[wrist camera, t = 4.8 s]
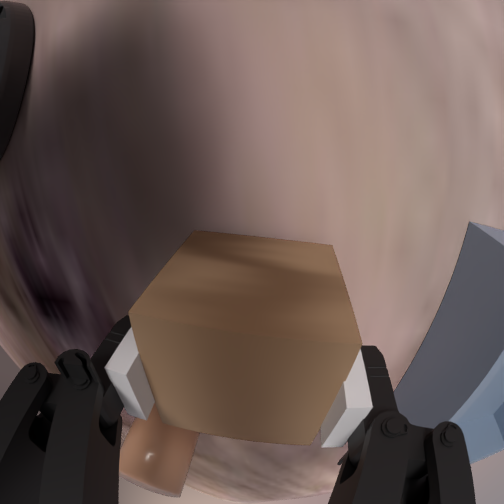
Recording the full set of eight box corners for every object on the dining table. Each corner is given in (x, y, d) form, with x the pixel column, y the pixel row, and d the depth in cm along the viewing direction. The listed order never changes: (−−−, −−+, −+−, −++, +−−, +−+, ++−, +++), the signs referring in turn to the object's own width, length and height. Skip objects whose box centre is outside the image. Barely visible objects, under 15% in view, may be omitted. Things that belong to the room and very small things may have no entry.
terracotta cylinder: (154, 410, 21) (124, 481, 13) (143, 377, 19) (101, 459, 11) (207, 423, 20) (185, 501, 13) (204, 393, 18) (173, 486, 11)
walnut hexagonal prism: (198, 332, 15) (162, 422, 9) (194, 230, 12) (128, 312, 7) (308, 347, 14) (310, 445, 9) (332, 245, 11) (362, 343, 6)
